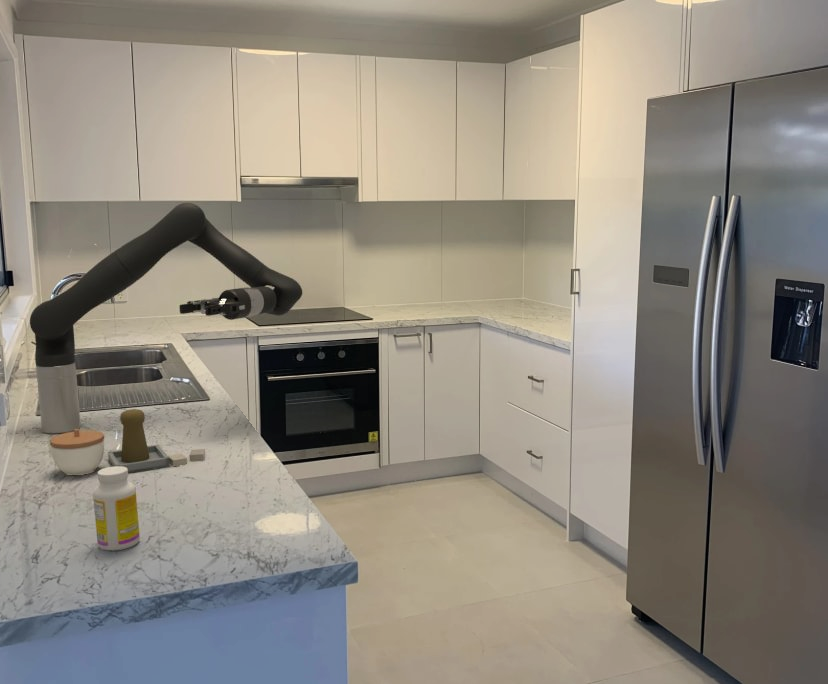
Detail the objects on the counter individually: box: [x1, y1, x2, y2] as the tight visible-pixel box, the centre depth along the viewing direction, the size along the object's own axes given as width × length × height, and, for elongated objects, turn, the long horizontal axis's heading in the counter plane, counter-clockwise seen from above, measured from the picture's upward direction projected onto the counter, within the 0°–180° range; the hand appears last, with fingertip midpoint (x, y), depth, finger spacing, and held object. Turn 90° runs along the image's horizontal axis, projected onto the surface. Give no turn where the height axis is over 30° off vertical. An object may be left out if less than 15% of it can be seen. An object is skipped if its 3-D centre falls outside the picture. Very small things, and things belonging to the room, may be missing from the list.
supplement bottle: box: [92, 466, 141, 552], centre depth 134 cm, size 7×7×13 cm
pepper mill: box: [119, 408, 149, 462], centre depth 179 cm, size 6×6×11 cm
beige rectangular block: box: [188, 448, 206, 462], centre depth 181 cm, size 4×3×2 cm
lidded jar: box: [49, 428, 105, 476], centre depth 172 cm, size 11×11×9 cm
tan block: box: [167, 453, 188, 468], centre depth 178 cm, size 4×3×2 cm
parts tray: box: [107, 444, 171, 475], centre depth 178 cm, size 12×11×2 cm
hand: (193, 310), depth 189 cm, fingers open, 8 cm apart
